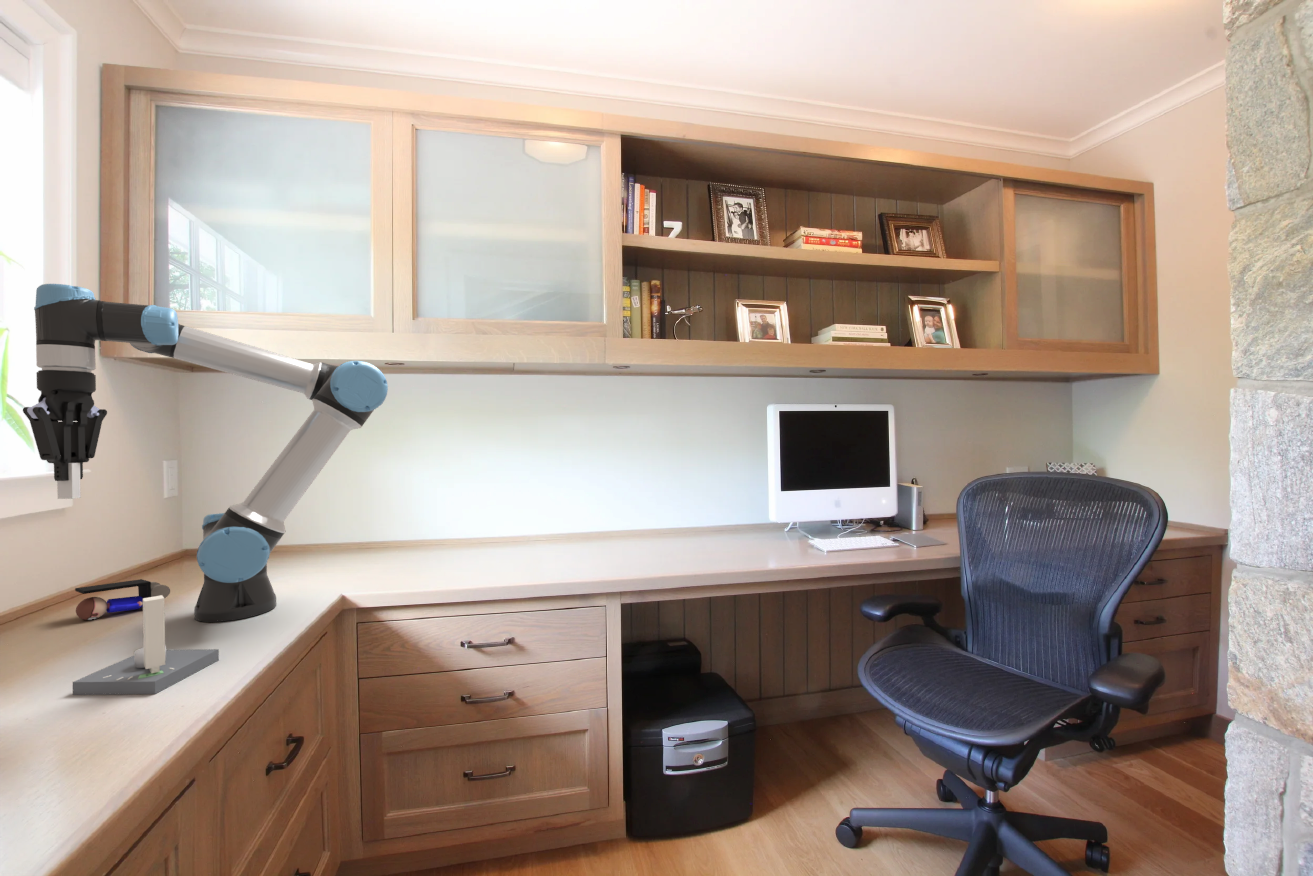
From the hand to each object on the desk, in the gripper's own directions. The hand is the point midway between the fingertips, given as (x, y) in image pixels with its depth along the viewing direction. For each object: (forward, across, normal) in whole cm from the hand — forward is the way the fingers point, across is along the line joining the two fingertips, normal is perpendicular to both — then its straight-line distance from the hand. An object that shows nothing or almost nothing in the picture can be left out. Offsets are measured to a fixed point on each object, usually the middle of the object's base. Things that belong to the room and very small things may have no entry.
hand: (69, 498), depth 103 cm
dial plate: (+29, +9, +22) cm, 38 cm away
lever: (+27, +10, +24) cm, 38 cm away
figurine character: (+30, -25, -14) cm, 41 cm away
